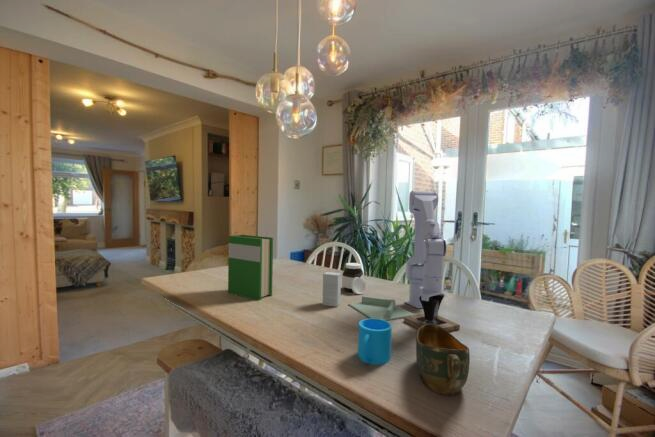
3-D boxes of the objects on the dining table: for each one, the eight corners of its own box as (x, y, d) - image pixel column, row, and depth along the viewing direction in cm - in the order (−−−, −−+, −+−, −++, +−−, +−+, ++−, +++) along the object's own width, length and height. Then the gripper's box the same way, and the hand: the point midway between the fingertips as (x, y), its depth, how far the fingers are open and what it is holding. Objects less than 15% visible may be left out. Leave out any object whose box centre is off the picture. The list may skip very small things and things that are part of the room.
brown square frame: (431, 316, 106) (431, 312, 106) (459, 329, 95) (459, 324, 95) (403, 321, 101) (404, 316, 101) (430, 335, 90) (430, 330, 90)
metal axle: (431, 322, 100) (432, 298, 100) (440, 326, 97) (441, 301, 96) (421, 323, 99) (422, 299, 98) (430, 328, 95) (431, 303, 95)
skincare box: (340, 303, 117) (341, 273, 116) (337, 307, 113) (338, 275, 112) (325, 301, 119) (326, 271, 118) (321, 305, 115) (322, 273, 114)
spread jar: (351, 286, 144) (351, 261, 143) (372, 290, 137) (373, 264, 136) (336, 291, 134) (337, 265, 133) (359, 296, 127) (360, 269, 127)
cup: (393, 389, 63) (395, 341, 62) (422, 353, 79) (424, 314, 79) (460, 415, 56) (463, 360, 55) (476, 369, 72) (479, 327, 72)
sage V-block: (382, 300, 123) (383, 292, 123) (415, 315, 106) (415, 307, 106) (348, 304, 116) (348, 296, 116) (376, 322, 99) (377, 313, 99)
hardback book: (272, 295, 125) (273, 237, 124) (259, 300, 119) (260, 239, 118) (241, 288, 134) (242, 234, 133) (228, 292, 128) (228, 235, 127)
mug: (365, 345, 82) (366, 316, 82) (395, 354, 78) (396, 322, 78) (345, 365, 72) (346, 331, 72) (377, 375, 68) (378, 339, 67)
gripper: (427, 270, 105) (426, 309, 106) (412, 277, 94) (410, 321, 94) (448, 273, 101) (447, 313, 102) (435, 281, 89) (433, 327, 90)
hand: (431, 317), depth 98 cm, fingers closed on metal axle, 4 cm apart
